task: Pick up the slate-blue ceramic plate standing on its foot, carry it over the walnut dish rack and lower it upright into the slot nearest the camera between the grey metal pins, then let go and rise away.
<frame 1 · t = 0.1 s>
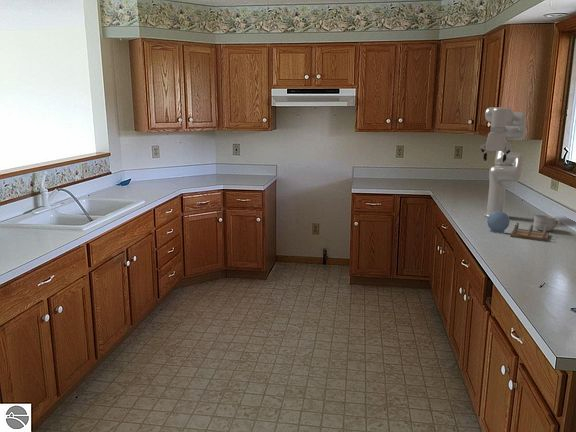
hand: (494, 161, 275), 37 cm above the worktop, tool pointing down, fingers open, 9 cm apart
dish rack: (529, 235, 259), on the worktop
teacup: (545, 231, 270), on the worktop
plate: (497, 232, 266), on the worktop
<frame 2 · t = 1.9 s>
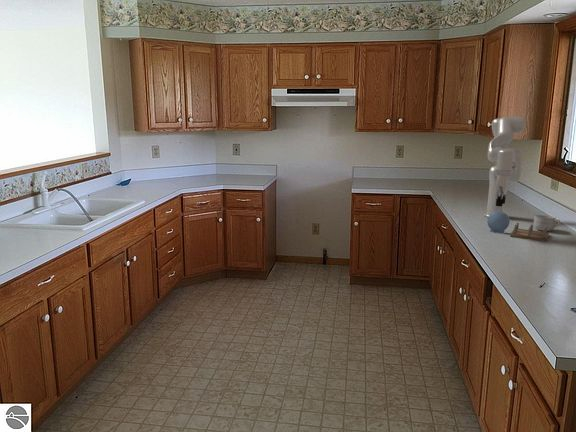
hand: (500, 204, 262), 15 cm above the worktop, tool pointing down, fingers open, 9 cm apart
nothing on the worktop moved.
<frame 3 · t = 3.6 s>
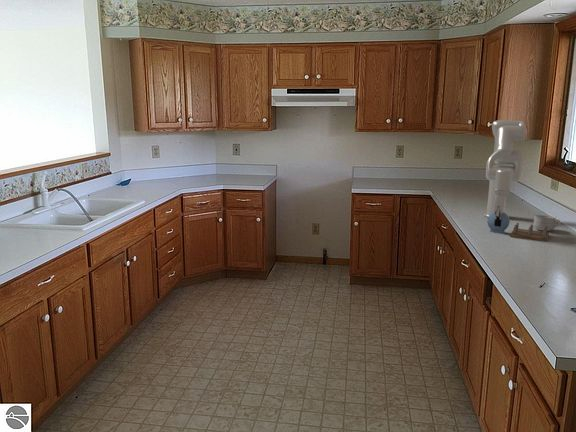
hand: (498, 225, 266), 4 cm above the worktop, tool pointing down, fingers closed on plate, 2 cm apart
plate: (497, 232, 266), on the worktop, touching gripper
everything else where it was.
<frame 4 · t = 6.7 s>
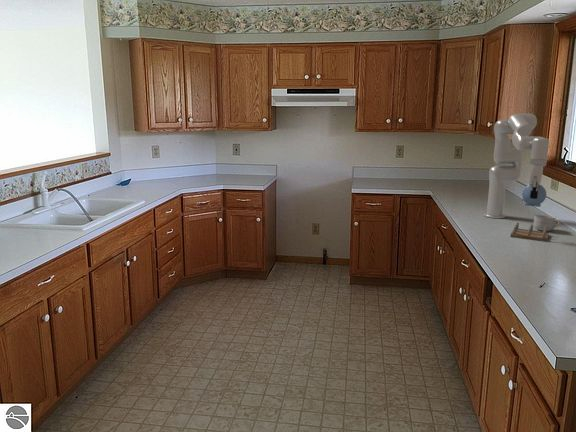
hand: (533, 197, 252), 21 cm above the worktop, tool pointing down, fingers closed on plate
plate: (532, 205, 253), point 17 cm above the worktop, touching gripper
everything else where it was.
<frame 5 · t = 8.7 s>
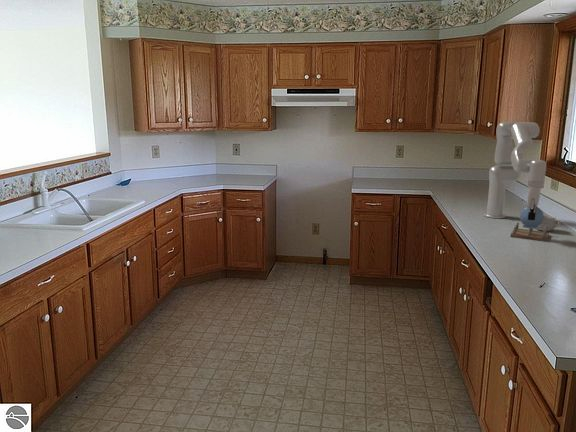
hand: (531, 219, 254), 10 cm above the worktop, tool pointing down, fingers closed on plate
plate: (530, 227, 255), point 5 cm above the worktop, touching gripper
everything else where it was.
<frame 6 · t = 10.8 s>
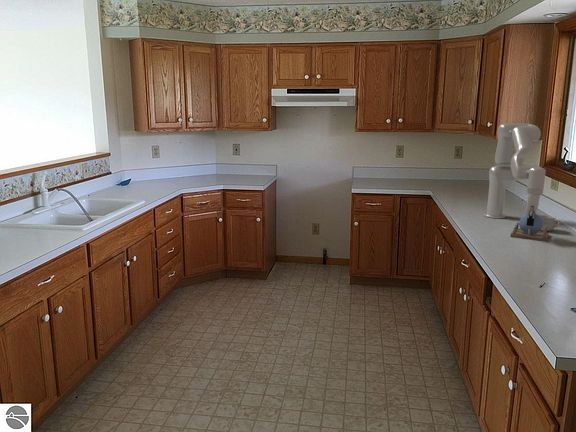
hand: (530, 223, 255), 7 cm above the worktop, tool pointing down, fingers open, 9 cm apart
plate: (529, 234, 256), point 1 cm above the worktop, touching dish rack
everything else where it was.
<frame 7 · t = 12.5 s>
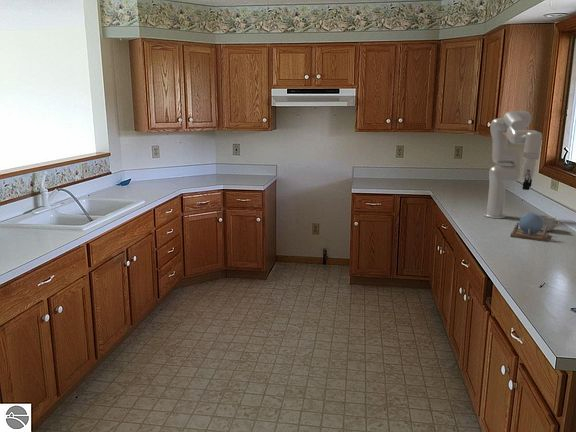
hand: (526, 188, 258), 25 cm above the worktop, tool pointing down, fingers open, 9 cm apart
nothing on the worktop moved.
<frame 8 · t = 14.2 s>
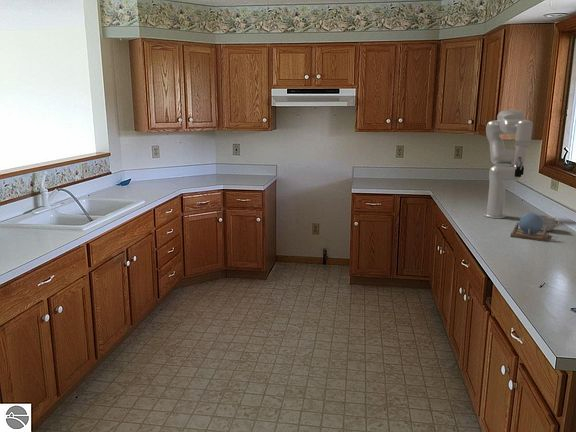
hand: (518, 175, 265), 30 cm above the worktop, tool pointing down, fingers open, 9 cm apart
nothing on the worktop moved.
at the end: plate inside the target area on the dish rack (0.0 cm from its centre), point 1.5 cm above the dish rack's base; plate tilted 0°; the gripper is holding nothing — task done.
